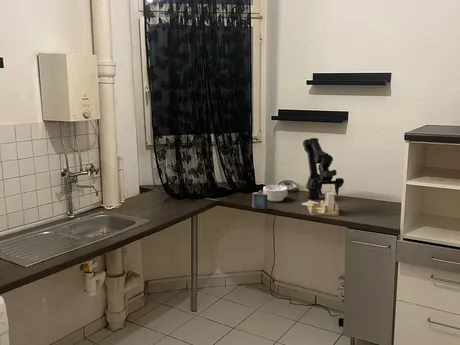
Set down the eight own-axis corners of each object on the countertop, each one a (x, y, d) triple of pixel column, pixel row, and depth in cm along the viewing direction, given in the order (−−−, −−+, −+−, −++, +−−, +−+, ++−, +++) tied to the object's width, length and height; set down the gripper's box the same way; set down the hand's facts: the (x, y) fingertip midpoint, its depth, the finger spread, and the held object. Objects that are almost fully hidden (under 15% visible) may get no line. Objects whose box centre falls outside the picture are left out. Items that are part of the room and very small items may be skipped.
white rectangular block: (327, 211, 266) (328, 194, 264) (324, 208, 272) (325, 191, 270) (333, 211, 266) (334, 193, 264) (330, 208, 272) (331, 191, 270)
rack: (307, 208, 276) (308, 199, 275) (333, 208, 276) (334, 200, 275) (311, 215, 262) (311, 206, 261) (338, 215, 262) (339, 206, 261)
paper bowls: (267, 203, 287) (267, 190, 286) (260, 197, 302) (260, 185, 300) (291, 202, 291) (291, 189, 289) (282, 196, 305) (282, 184, 304)
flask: (251, 207, 278) (251, 190, 275) (253, 206, 280) (253, 189, 278) (266, 209, 274) (266, 191, 272) (268, 208, 276) (268, 190, 274)
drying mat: (301, 204, 285) (301, 203, 285) (311, 201, 291) (311, 200, 291) (316, 208, 276) (316, 207, 276) (326, 205, 282) (326, 204, 282)
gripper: (311, 164, 269) (316, 188, 260) (343, 164, 270) (349, 187, 262) (307, 175, 278) (312, 198, 269) (338, 174, 280) (344, 197, 271)
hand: (329, 195), depth 268 cm, fingers open, 9 cm apart
